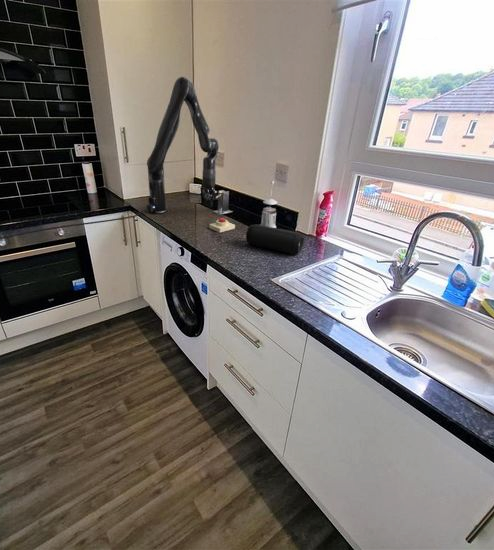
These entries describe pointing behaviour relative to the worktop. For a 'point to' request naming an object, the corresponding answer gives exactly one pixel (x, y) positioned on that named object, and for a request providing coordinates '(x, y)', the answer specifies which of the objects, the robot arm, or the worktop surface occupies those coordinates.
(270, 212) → the french press
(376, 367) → the worktop surface
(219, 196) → the lever
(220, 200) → the bracket
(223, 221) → the button
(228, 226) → the control block
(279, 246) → the portable speaker
